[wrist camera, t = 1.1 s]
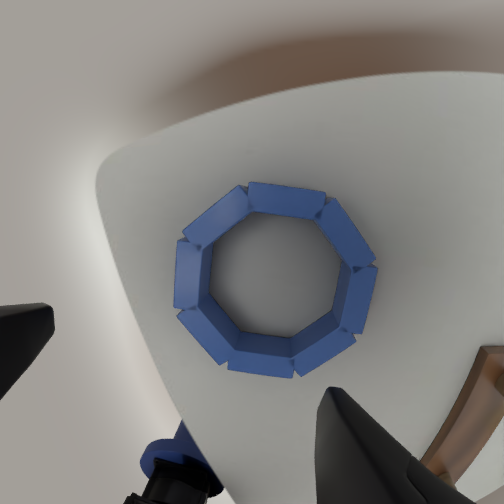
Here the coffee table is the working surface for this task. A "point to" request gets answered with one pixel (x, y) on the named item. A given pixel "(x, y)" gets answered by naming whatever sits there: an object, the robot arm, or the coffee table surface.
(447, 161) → the coffee table surface
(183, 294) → the ring
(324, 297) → the coffee table surface
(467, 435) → the rack
